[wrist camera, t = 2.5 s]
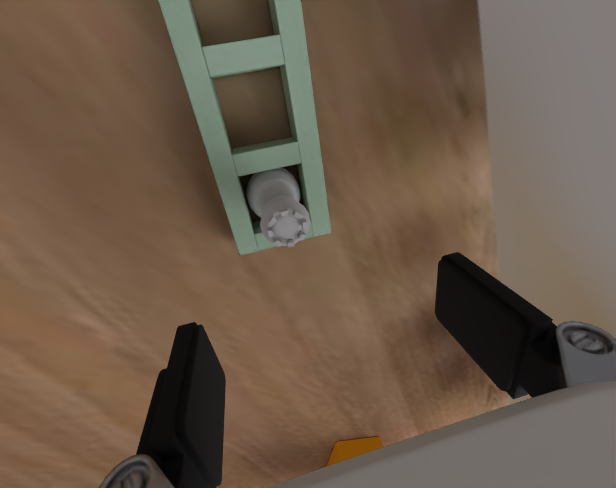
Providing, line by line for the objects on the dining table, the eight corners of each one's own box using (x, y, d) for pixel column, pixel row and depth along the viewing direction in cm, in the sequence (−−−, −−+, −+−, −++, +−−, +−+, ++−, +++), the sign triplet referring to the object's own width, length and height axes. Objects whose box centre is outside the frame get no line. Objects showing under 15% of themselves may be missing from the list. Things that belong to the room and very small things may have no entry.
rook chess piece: (308, 190, 26) (336, 226, 19) (273, 225, 26) (287, 272, 19) (271, 153, 23) (288, 178, 17) (234, 192, 24) (235, 232, 17)
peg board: (239, 242, 26) (239, 255, 24) (138, -81, 16) (123, -107, 14) (323, 221, 27) (331, 232, 25) (278, -95, 17) (285, -122, 15)
